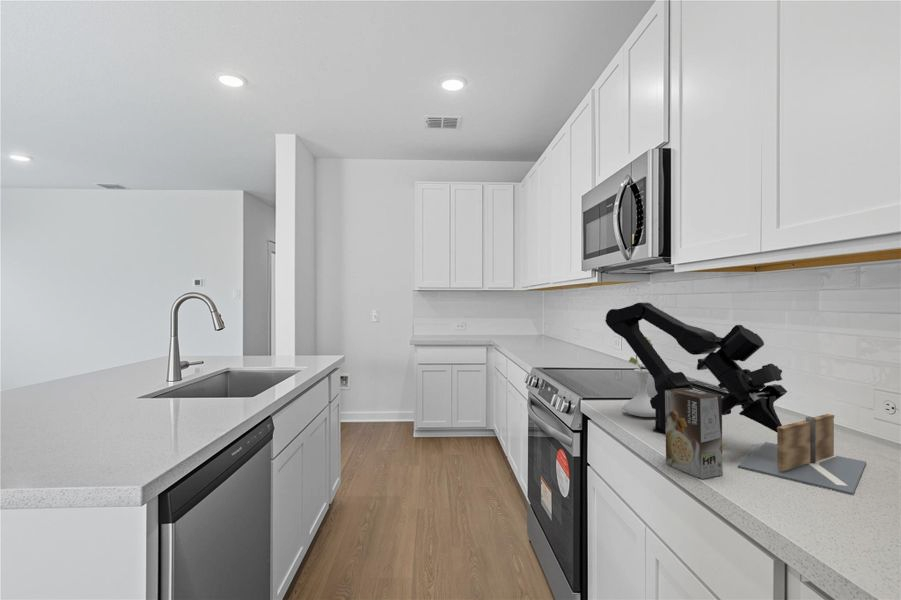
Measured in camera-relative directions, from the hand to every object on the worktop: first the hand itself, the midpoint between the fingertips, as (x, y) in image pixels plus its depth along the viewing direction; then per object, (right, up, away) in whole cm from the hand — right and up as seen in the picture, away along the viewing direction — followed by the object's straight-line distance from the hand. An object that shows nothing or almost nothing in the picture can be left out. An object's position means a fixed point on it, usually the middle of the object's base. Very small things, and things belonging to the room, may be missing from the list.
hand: (781, 432), depth 95 cm
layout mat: (+4, -7, -1) cm, 8 cm away
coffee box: (-21, -7, -3) cm, 22 cm away
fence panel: (0, -6, -3) cm, 7 cm away
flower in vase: (-13, -7, +41) cm, 43 cm away
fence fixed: (+10, -7, +2) cm, 12 cm away
